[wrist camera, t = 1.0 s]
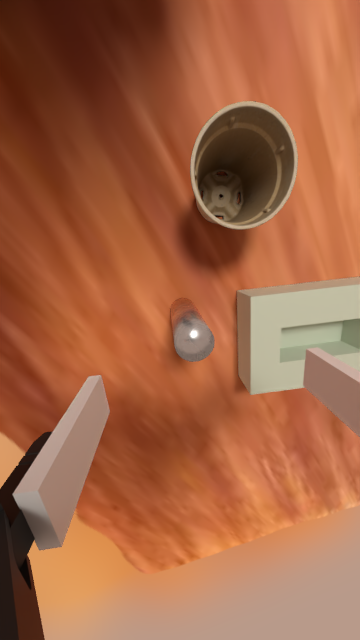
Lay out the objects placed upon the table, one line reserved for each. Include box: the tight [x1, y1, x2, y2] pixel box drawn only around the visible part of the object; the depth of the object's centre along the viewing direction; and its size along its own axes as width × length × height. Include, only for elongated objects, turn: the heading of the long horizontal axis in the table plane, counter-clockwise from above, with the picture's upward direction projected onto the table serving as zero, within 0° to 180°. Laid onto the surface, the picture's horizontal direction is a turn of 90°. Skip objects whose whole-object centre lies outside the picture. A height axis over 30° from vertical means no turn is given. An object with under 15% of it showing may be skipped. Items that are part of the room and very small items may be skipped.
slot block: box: [237, 277, 360, 395], centre depth 30 cm, size 14×20×5 cm
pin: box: [170, 298, 214, 362], centre depth 24 cm, size 4×4×12 cm
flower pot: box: [190, 101, 298, 230], centre depth 22 cm, size 9×9×9 cm
